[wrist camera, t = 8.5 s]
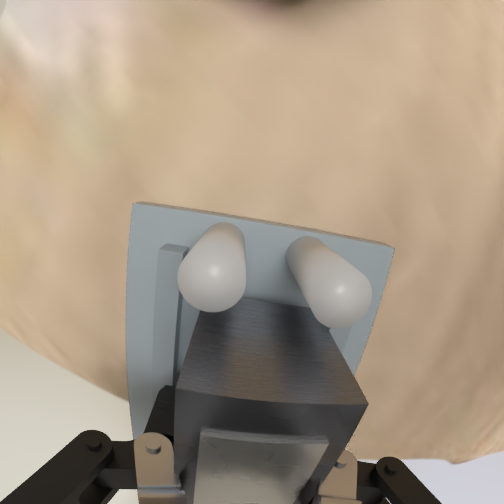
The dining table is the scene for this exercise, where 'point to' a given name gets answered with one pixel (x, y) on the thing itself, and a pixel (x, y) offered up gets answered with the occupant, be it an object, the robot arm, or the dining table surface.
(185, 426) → the block
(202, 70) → the dining table surface
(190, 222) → the pin tray
